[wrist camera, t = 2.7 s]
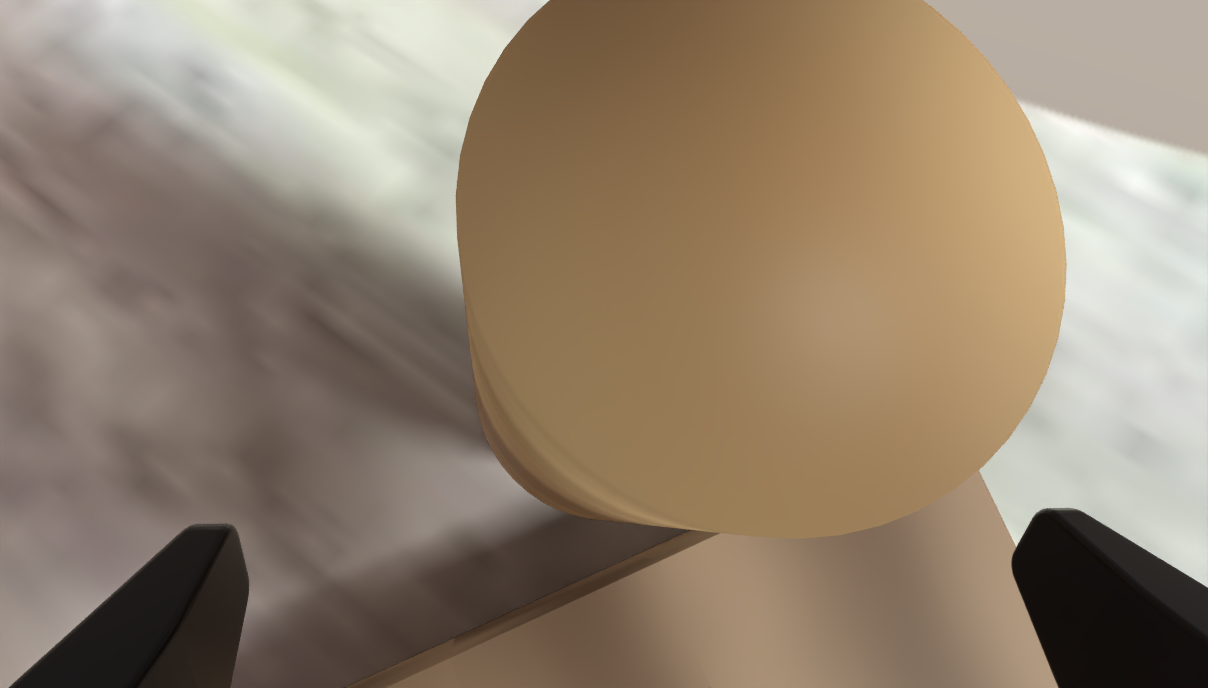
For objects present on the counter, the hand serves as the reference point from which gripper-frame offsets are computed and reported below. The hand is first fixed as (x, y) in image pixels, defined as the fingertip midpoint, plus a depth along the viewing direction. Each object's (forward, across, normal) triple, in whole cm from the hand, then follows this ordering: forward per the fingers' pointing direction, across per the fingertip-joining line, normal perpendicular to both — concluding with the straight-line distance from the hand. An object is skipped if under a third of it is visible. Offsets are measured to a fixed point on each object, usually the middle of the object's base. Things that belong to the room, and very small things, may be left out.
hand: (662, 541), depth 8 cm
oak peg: (+9, 0, +6) cm, 10 cm away
